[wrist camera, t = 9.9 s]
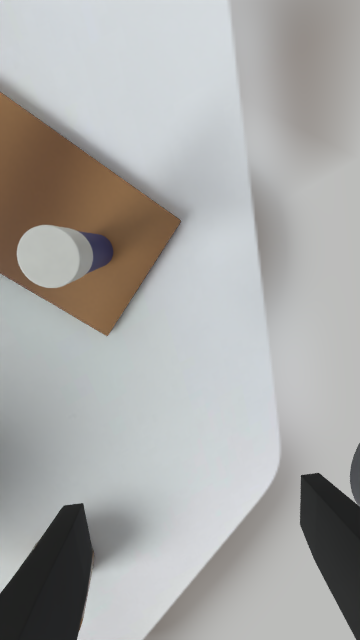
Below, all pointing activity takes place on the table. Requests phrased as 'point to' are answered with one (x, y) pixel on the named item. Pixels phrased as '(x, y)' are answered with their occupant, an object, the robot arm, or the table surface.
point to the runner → (75, 216)
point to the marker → (61, 254)
